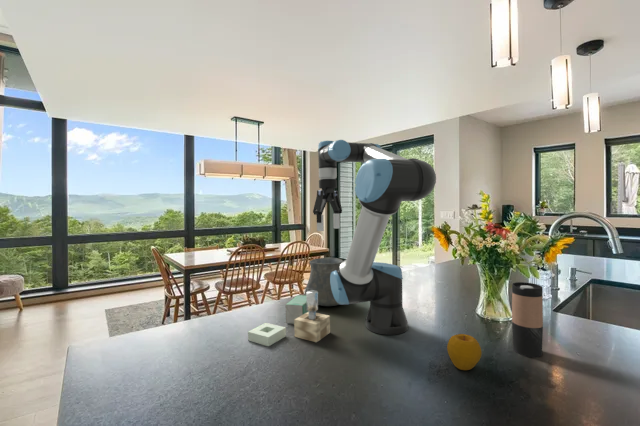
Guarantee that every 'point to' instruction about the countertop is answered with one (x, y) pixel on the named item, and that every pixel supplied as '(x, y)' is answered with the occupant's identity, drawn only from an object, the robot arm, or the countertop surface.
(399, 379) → the countertop surface
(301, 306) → the box
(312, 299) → the silver peg
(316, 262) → the vessel
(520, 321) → the travel mug
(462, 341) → the apple
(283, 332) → the stand
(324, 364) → the countertop surface
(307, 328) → the block
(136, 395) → the countertop surface
